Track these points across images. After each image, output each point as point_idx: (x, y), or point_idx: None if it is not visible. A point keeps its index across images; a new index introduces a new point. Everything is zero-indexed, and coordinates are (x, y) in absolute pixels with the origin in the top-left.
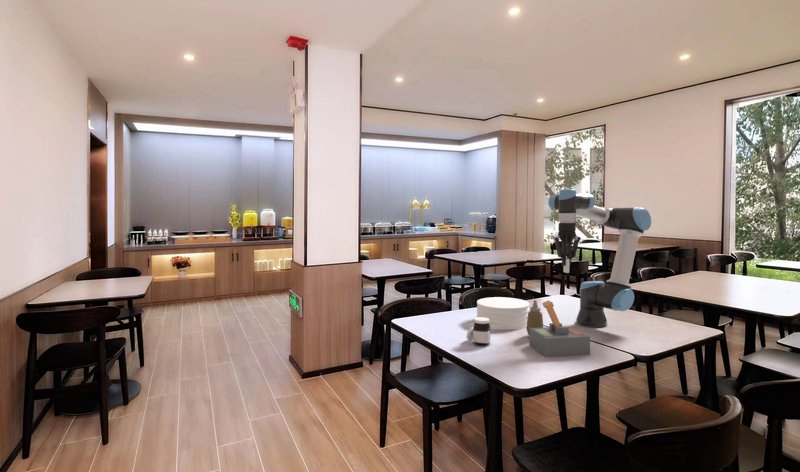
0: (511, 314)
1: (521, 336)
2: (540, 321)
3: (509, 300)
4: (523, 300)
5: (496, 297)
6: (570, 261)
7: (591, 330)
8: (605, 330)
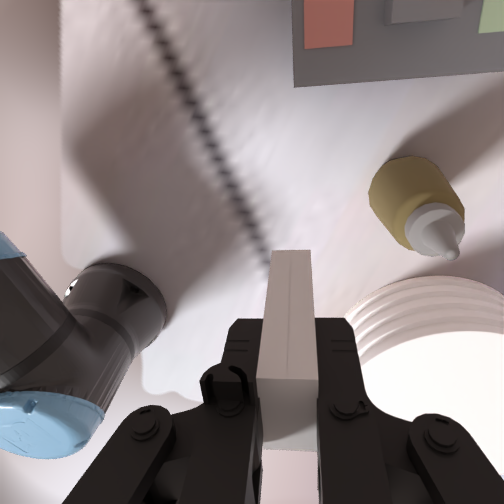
0: (463, 312)
1: None
2: (408, 176)
3: None
4: None
5: None
6: (231, 360)
7: (146, 235)
8: (97, 230)
